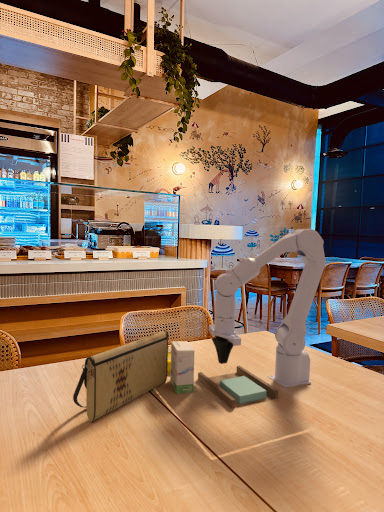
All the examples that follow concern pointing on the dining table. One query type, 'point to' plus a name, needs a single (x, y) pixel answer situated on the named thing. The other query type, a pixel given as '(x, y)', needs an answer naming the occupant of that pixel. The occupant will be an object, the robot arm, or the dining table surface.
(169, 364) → the element tile
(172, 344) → the ink box
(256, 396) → the teal plate
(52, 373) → the dining table surface
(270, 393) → the walnut tray
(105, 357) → the clutch purse
